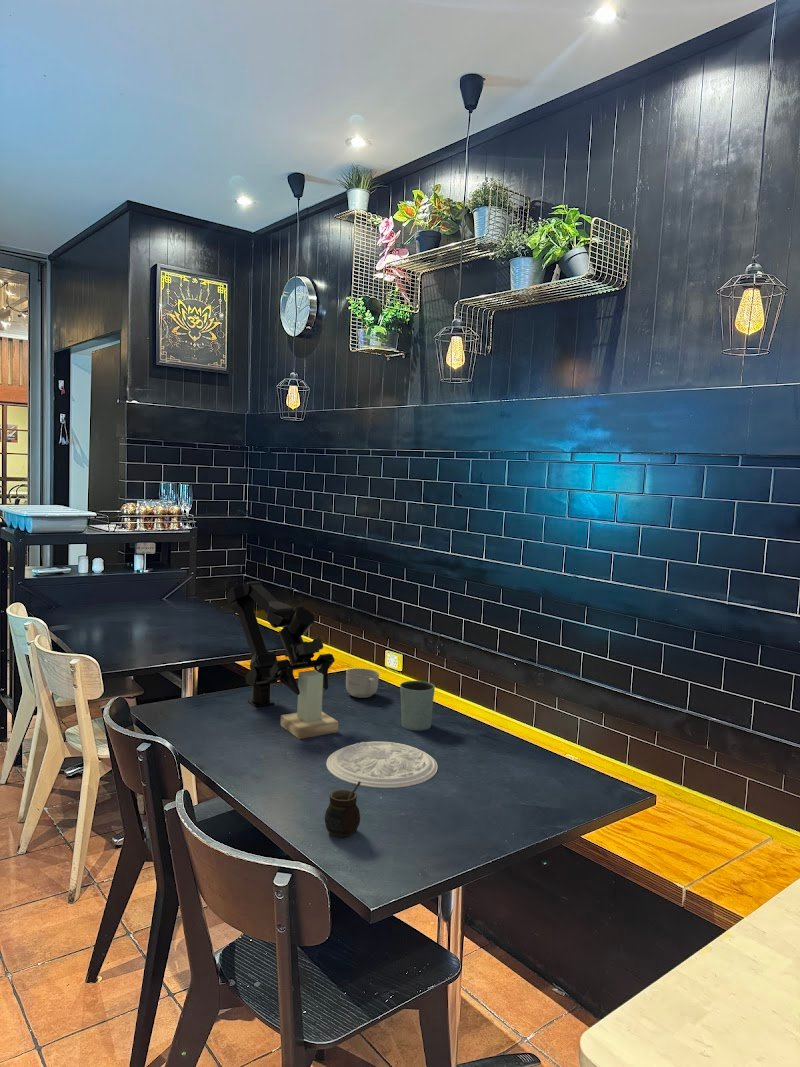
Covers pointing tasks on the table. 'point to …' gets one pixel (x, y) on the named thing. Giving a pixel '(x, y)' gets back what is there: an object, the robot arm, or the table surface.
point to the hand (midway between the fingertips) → (313, 691)
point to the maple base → (309, 726)
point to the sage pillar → (310, 696)
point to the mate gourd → (342, 813)
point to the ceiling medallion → (382, 765)
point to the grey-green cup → (416, 704)
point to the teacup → (361, 682)
